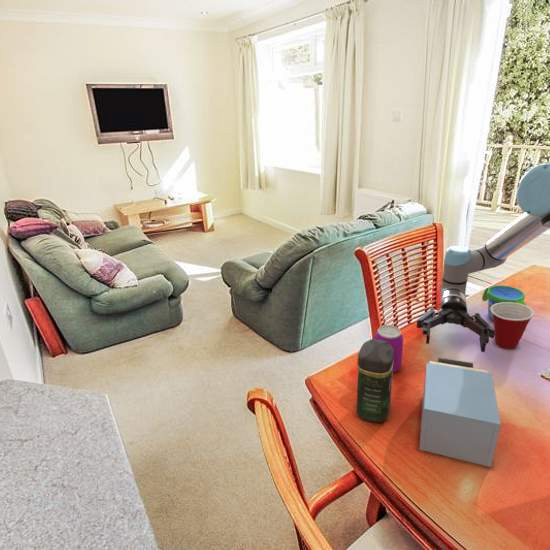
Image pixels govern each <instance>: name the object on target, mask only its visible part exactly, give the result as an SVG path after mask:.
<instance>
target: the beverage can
mask: <svg viewBox="0 0 550 550" xmlns="http://www.w3.org/2000/svg"><path fill="white" fill-rule="evenodd" d="M374 339H376V340H381V341H386V342H388V343H389V344H390V345H391V346H392V347H393V350H394V356H393V359H394V360H393V373H396V372H398V371H399V370H400V369H401V368H402V363H403V362H402V361H403V350H404V349H403V348H404V337H403V333H402V330H401V329H400V328H399V327H397V326H395V325H390V324H383V325H381V326H379V327H378V328H377V330H376V333H375V334H374Z"/></svg>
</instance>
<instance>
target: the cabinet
mask: <svg viewBox="0 0 550 550" xmlns="http://www.w3.org/2000/svg"><path fill="white" fill-rule="evenodd" d="M423 383H424V385H423V393H422V404H421V416H420V417H421V419H420V435H419V451H423V452H427V453H431V454H434V455H435V454H436V455H441V456H443V457H448V458H453V459H455V460H456V459H457V460H459V461H465V462H469V463H473V464H476V465H479V466H485V467H488V468H492V465H493V460H494V456H495V452H496V447H497V442H498V438H499V434H500V430H501V426H502V423H501V417H500V411H499V406H498V401H497V396H496V391H495V390H496V389H495V383H494V378H493V374H492V373H491V372H487V373H486V372H480V371H474V370H468V369H462V368H456V367H450V366H444V365H438V364H431V363H429V362H426V365H425V375H424V382H423Z"/></svg>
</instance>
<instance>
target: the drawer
mask: <svg viewBox="0 0 550 550" xmlns="http://www.w3.org/2000/svg"><path fill="white" fill-rule="evenodd" d="M428 363H431V364H438V365H444V366H450V367H456V368H462V369H468V370H474V371H480V372H486V373H488V370H486V369H483V368H482V369H481V368H474V363H473V362H468V361H461V360H455V359H449V358H443V357H438V359H437V361H433V360H429V361H428Z"/></svg>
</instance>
